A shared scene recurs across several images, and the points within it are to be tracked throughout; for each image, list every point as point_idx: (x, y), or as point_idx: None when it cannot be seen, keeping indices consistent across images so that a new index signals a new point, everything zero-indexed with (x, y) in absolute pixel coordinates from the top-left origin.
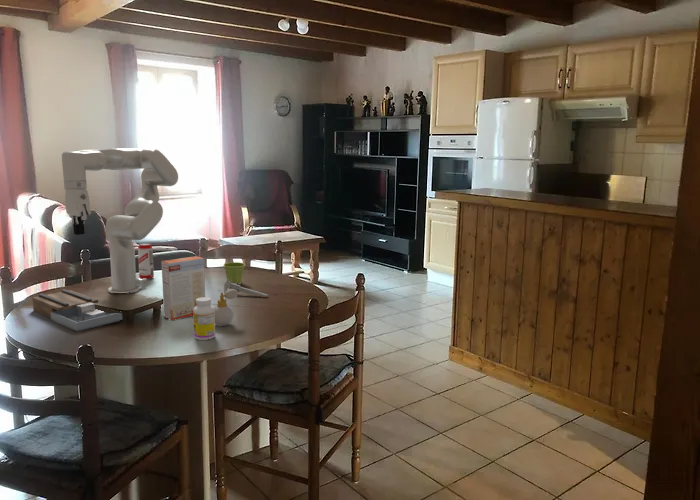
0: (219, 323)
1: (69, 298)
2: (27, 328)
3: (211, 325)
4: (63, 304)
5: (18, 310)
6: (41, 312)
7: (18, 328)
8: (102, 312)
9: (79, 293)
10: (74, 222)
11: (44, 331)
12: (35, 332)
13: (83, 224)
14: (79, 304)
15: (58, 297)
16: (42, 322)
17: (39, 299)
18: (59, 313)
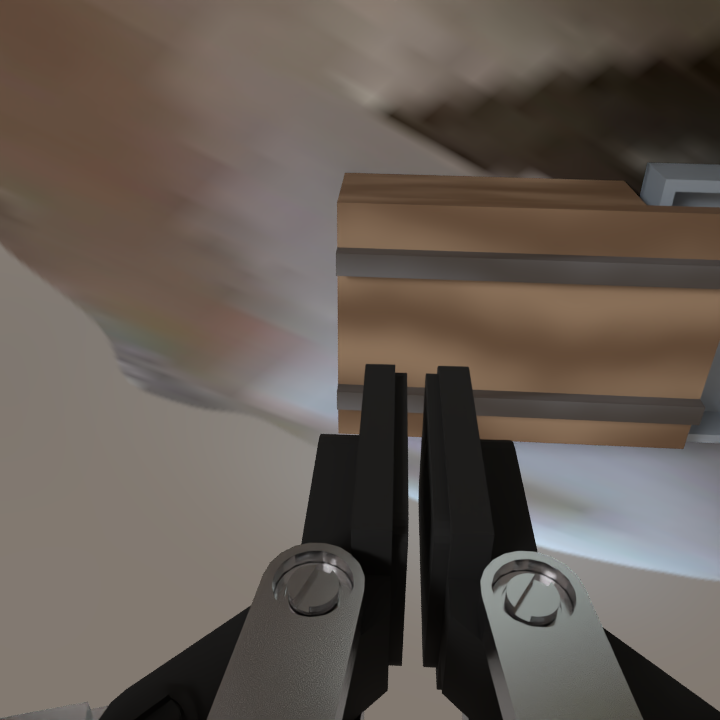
0: None
1: (547, 318)
2: (605, 511)
3: None
4: (674, 421)
5: (283, 424)
6: None
7: (570, 529)
8: None
9: (481, 211)
10: (363, 700)
11: (715, 492)
12: (689, 516)
13: (488, 521)
14: (717, 338)
15: (464, 348)
16: (581, 444)
17: (417, 430)
18: None
